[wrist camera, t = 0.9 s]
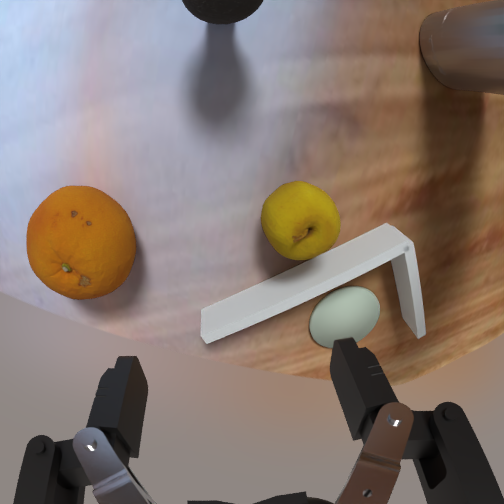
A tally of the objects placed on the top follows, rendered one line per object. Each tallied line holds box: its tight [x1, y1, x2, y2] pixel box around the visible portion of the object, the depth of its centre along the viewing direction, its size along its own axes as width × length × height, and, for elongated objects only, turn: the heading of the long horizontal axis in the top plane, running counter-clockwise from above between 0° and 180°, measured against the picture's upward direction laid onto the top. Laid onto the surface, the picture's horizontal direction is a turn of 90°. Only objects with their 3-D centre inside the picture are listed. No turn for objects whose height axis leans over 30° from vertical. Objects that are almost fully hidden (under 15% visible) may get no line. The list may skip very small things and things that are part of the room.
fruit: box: [27, 186, 136, 300], centre depth 25 cm, size 10×10×8 cm
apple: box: [261, 181, 341, 260], centre depth 27 cm, size 6×6×8 cm
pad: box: [309, 286, 380, 348], centre depth 37 cm, size 9×9×1 cm
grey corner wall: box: [201, 223, 426, 344], centre depth 34 cm, size 23×15×4 cm, turn 115°
